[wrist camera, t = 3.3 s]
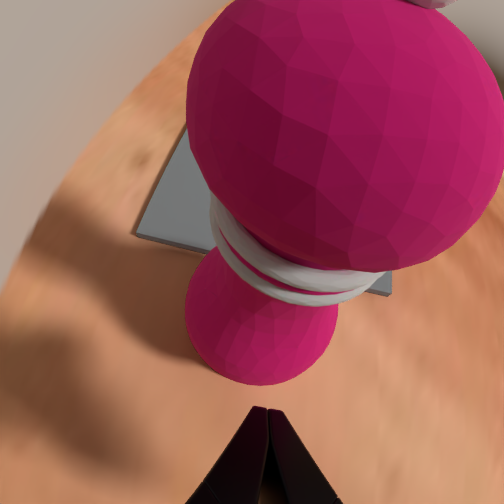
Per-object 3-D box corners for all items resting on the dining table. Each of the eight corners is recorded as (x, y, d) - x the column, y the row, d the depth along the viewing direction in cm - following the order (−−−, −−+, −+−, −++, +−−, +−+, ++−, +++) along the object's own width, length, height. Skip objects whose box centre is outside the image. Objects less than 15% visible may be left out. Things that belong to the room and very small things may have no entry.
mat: (387, 296, 22) (391, 293, 21) (137, 236, 21) (136, 232, 21) (376, 114, 32) (377, 110, 32) (220, 74, 32) (220, 70, 32)
